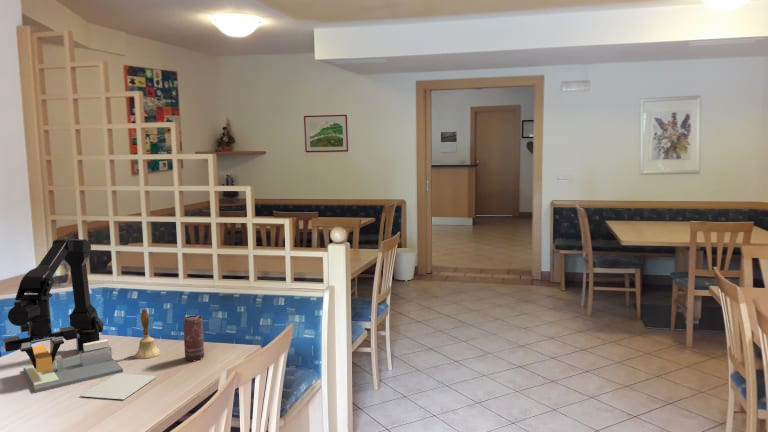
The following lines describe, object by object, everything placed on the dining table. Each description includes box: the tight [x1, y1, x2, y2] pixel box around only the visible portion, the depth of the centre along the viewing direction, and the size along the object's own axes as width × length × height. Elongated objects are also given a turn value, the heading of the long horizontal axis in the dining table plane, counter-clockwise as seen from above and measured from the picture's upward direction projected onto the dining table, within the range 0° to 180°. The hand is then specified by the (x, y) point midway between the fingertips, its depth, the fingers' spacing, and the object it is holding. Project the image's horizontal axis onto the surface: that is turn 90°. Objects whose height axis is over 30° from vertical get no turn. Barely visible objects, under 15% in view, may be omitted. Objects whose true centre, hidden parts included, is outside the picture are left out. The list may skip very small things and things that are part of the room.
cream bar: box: [83, 338, 109, 351], centre depth 187 cm, size 7×2×2 cm, turn 129°
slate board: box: [22, 355, 124, 393], centre depth 183 cm, size 24×22×1 cm
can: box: [182, 315, 205, 361], centre depth 193 cm, size 6×6×14 cm
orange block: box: [29, 344, 53, 373], centre depth 177 cm, size 4×14×4 cm, turn 39°
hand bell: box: [134, 308, 162, 360], centre depth 196 cm, size 8×8×16 cm
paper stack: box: [79, 373, 158, 400], centre depth 165 cm, size 23×25×1 cm
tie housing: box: [54, 344, 113, 372], centre depth 185 cm, size 16×3×4 cm, turn 129°
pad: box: [25, 365, 59, 386], centre depth 178 cm, size 6×18×1 cm, turn 40°
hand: (43, 365), depth 174 cm, fingers closed on orange block, 4 cm apart
